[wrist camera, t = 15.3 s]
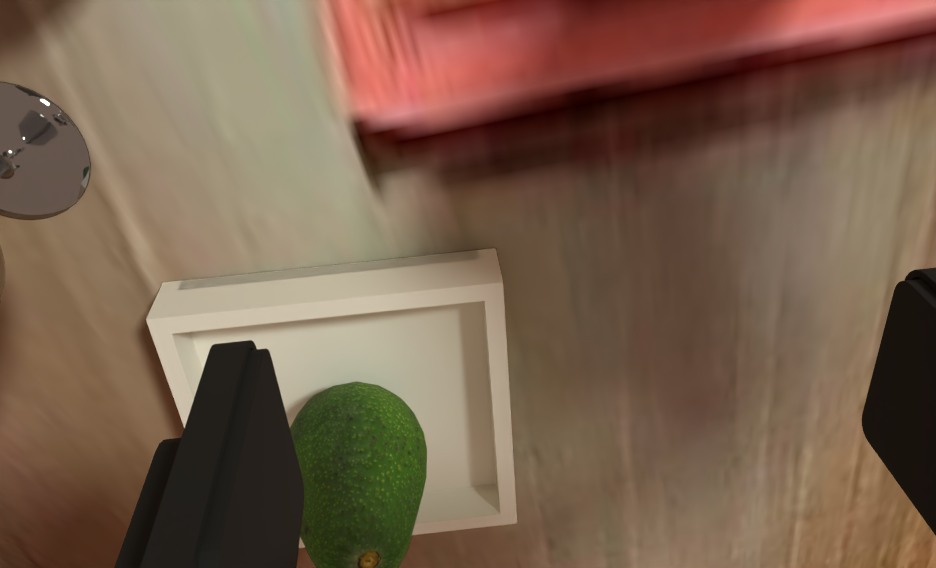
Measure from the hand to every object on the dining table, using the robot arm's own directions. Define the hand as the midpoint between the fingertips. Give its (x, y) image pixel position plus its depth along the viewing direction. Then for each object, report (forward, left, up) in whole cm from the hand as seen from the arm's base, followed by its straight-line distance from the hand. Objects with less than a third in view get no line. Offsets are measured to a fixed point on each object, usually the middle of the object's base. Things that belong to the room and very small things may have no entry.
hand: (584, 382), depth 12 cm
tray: (+8, +23, -28) cm, 37 cm away
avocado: (+8, +23, -28) cm, 37 cm away
